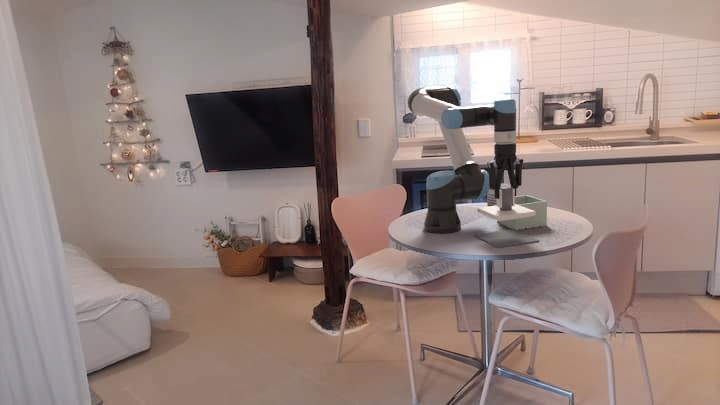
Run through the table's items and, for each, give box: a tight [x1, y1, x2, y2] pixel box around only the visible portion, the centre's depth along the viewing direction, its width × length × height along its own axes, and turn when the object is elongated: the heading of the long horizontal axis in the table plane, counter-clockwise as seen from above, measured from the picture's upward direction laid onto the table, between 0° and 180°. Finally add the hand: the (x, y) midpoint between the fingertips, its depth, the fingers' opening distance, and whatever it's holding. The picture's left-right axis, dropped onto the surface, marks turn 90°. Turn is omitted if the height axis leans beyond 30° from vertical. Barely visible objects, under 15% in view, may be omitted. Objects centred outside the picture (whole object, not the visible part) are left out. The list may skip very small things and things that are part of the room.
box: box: [496, 194, 548, 231], centre depth 199 cm, size 14×14×10 cm
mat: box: [474, 228, 540, 249], centre depth 182 cm, size 17×17×1 cm
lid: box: [477, 187, 536, 221], centre depth 179 cm, size 15×15×10 cm
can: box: [486, 182, 511, 207], centre depth 223 cm, size 11×11×12 cm
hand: (505, 206), depth 180 cm, fingers closed on lid, 4 cm apart
